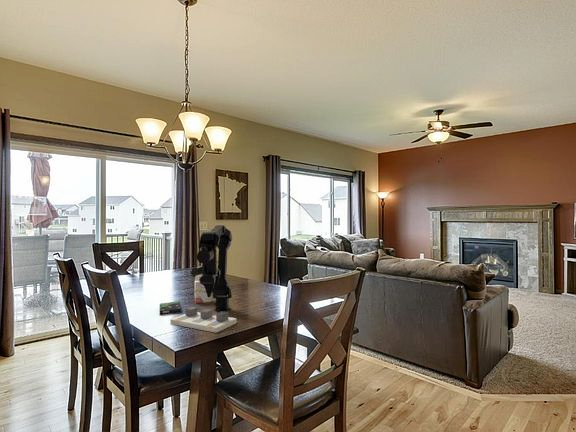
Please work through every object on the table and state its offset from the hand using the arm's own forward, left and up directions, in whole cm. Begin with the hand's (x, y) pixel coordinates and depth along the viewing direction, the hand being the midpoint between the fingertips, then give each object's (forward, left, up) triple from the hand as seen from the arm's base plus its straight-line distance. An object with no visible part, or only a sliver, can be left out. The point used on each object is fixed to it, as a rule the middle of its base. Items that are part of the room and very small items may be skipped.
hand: (210, 294), depth 154 cm
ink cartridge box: (-27, -28, -13) cm, 41 cm away
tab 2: (0, +7, -10) cm, 12 cm away
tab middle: (0, -2, -11) cm, 11 cm away
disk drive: (-7, -32, -14) cm, 36 cm away
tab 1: (0, -11, -10) cm, 16 cm away
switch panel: (+2, -2, -13) cm, 13 cm away
